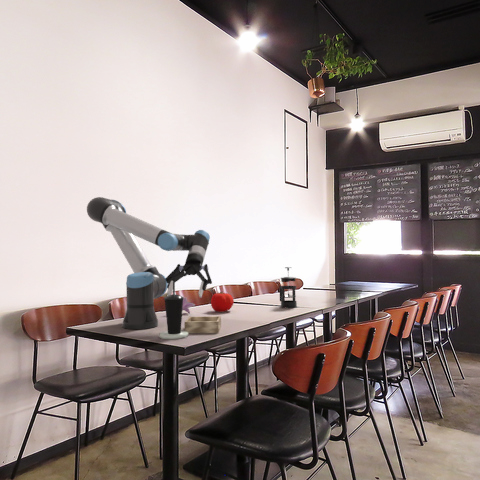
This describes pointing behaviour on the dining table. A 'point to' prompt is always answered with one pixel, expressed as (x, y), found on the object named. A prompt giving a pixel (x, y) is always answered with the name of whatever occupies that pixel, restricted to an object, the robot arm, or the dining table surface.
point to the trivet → (173, 335)
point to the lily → (187, 305)
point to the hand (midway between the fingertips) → (184, 295)
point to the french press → (282, 293)
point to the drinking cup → (174, 312)
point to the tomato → (221, 302)
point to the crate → (203, 324)
